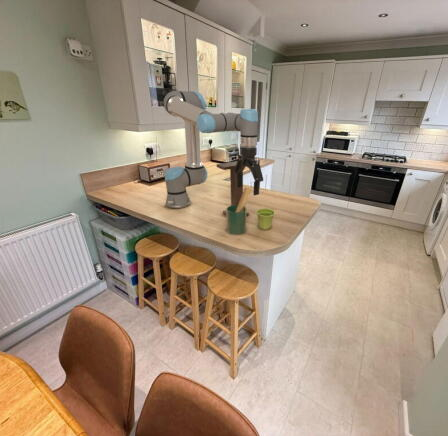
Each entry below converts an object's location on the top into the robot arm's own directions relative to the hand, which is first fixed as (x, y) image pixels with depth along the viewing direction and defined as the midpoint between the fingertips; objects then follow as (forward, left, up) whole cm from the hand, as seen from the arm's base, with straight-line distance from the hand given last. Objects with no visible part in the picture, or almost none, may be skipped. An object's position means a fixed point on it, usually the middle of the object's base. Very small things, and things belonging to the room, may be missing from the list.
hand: (247, 190), depth 115 cm
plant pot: (+6, +7, -20) cm, 22 cm away
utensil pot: (0, -7, -20) cm, 21 cm away
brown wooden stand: (-16, +1, -20) cm, 25 cm away
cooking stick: (0, -6, -8) cm, 10 cm away
